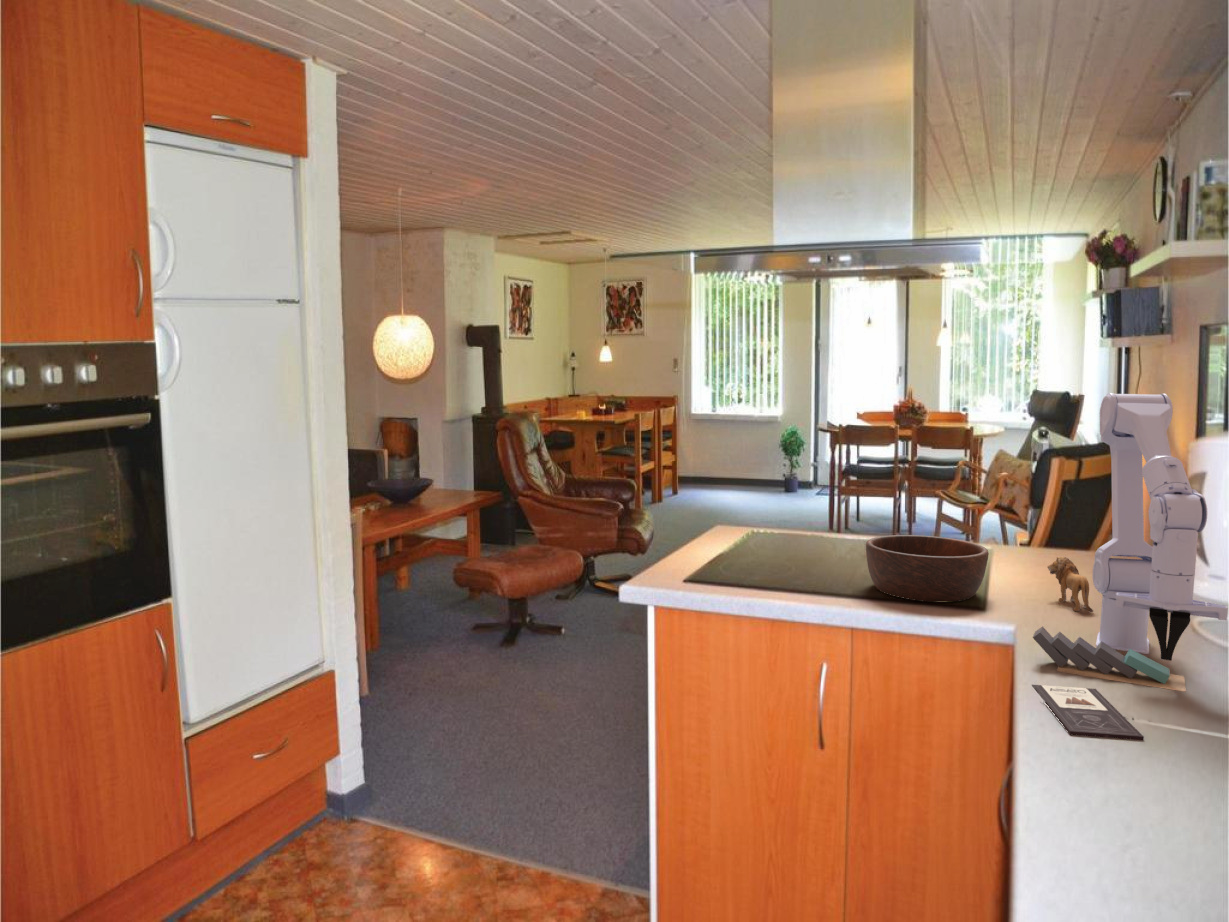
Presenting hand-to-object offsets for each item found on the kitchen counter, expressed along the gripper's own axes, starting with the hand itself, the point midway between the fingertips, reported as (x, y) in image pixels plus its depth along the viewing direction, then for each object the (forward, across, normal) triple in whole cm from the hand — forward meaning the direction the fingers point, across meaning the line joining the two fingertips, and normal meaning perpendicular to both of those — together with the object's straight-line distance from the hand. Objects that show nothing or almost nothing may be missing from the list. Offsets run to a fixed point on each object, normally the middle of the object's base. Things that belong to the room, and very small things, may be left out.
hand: (1166, 658), depth 141 cm
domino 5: (+3, 0, 0) cm, 3 cm away
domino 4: (+3, -4, 0) cm, 5 cm away
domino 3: (+3, -7, 0) cm, 8 cm away
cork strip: (+4, -6, 0) cm, 7 cm away
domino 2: (+3, -11, 0) cm, 11 cm away
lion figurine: (+4, -16, +45) cm, 48 cm away
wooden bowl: (+4, -44, +40) cm, 60 cm away
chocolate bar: (+5, -10, -20) cm, 23 cm away
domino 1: (+3, -14, 0) cm, 14 cm away
